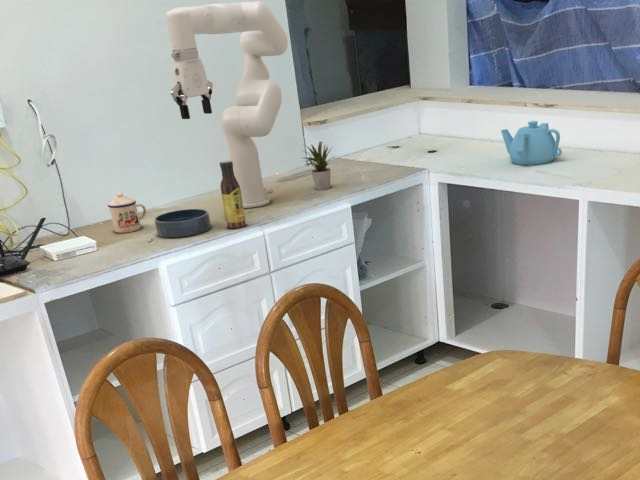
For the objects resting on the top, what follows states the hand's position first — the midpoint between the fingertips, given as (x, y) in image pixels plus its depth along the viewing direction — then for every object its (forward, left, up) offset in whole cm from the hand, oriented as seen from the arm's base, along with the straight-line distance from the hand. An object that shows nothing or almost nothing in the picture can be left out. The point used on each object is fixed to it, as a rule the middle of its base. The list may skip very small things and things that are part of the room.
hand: (197, 116), depth 294 cm
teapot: (-106, +62, -32) cm, 127 cm away
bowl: (+14, -1, -32) cm, 35 cm away
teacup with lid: (+17, -23, -32) cm, 43 cm away
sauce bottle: (+4, +13, -32) cm, 35 cm away
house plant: (-50, +5, -32) cm, 60 cm away
